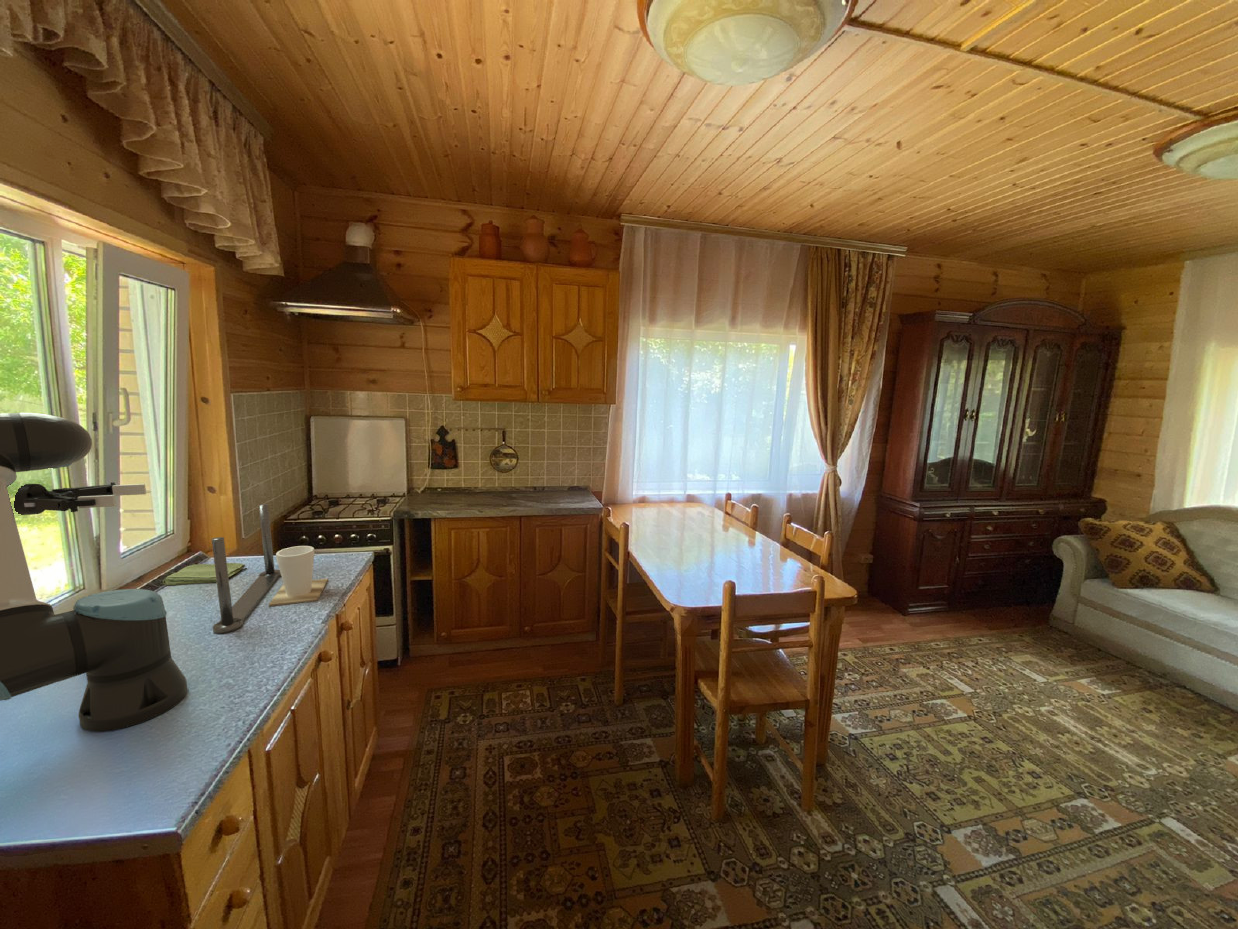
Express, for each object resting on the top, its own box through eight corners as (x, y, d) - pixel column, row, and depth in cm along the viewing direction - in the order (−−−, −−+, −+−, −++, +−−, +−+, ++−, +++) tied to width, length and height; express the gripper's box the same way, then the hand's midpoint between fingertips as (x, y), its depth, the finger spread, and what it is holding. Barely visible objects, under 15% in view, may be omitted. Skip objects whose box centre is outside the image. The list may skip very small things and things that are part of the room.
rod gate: (237, 631, 125) (227, 541, 121) (209, 635, 123) (197, 543, 119) (283, 572, 164) (277, 502, 160) (262, 574, 161) (255, 503, 157)
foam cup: (313, 596, 145) (309, 554, 142) (276, 600, 141) (272, 558, 139) (319, 584, 153) (316, 544, 151) (285, 588, 150) (281, 547, 148)
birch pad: (317, 600, 143) (317, 599, 143) (268, 606, 139) (268, 604, 139) (328, 580, 158) (327, 578, 158) (284, 584, 154) (284, 583, 153)
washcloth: (226, 584, 154) (224, 574, 154) (160, 588, 151) (159, 578, 150) (247, 568, 167) (246, 559, 166) (188, 572, 163) (186, 562, 163)
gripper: (56, 502, 130) (157, 498, 137) (-24, 529, 107) (102, 521, 114) (52, 475, 129) (154, 471, 136) (-31, 496, 106) (97, 490, 113)
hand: (130, 494), depth 125 cm, fingers open, 13 cm apart
